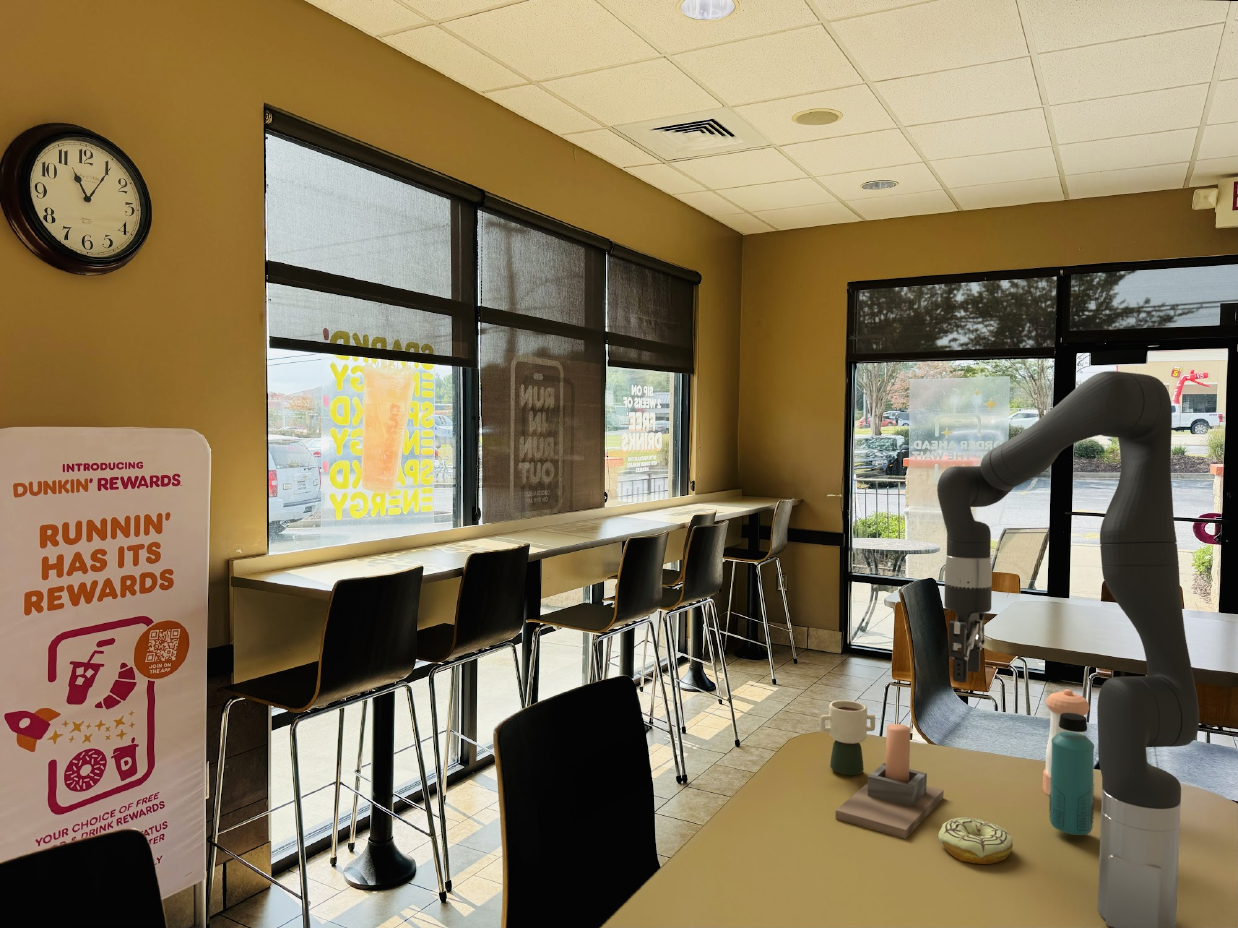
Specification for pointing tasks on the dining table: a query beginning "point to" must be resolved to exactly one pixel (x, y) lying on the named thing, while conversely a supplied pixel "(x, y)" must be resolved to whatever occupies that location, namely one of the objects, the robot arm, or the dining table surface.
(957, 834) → the decorated donut
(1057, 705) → the pepper shaker
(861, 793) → the holder
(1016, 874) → the dining table surface
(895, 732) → the peg
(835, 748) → the character mug
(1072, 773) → the beverage bottle
